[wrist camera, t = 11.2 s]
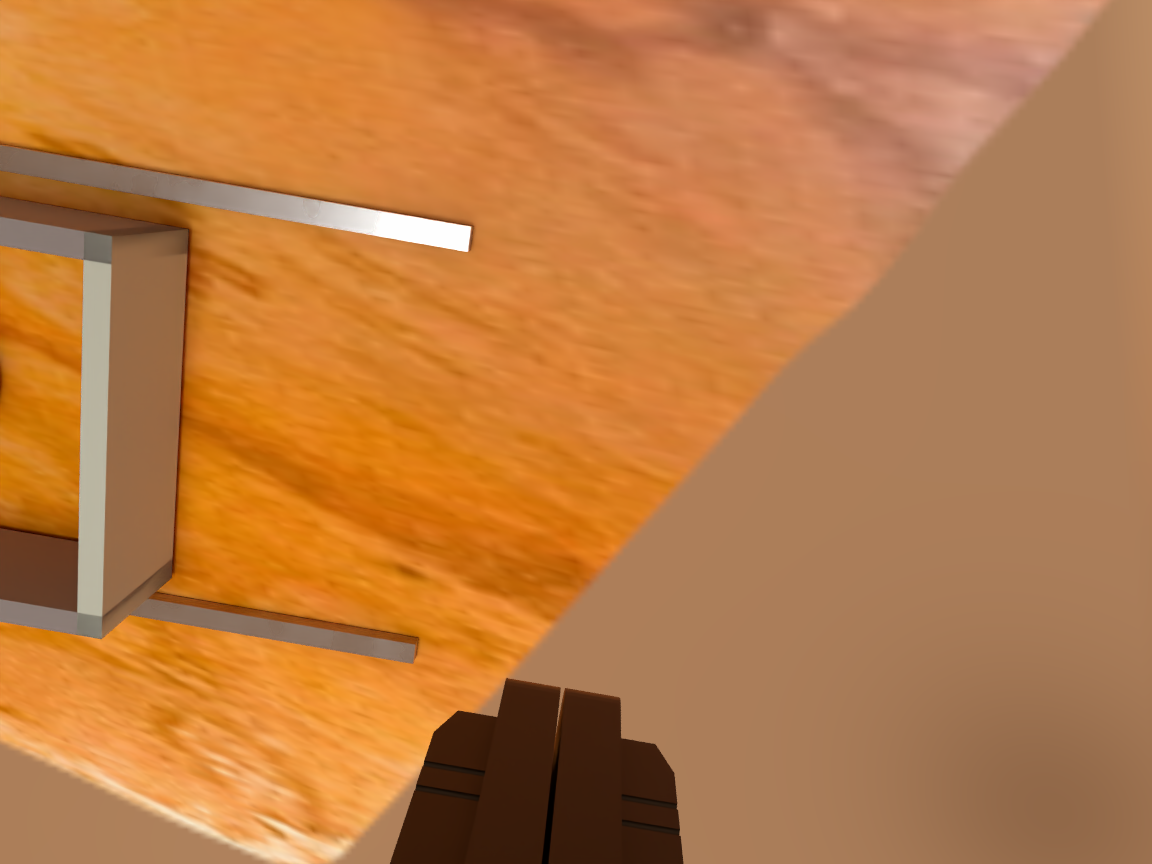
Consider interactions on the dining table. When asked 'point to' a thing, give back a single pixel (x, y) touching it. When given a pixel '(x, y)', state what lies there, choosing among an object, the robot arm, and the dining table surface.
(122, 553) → the gray u-shaped wall
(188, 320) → the dining table surface
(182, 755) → the dining table surface
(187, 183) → the rails
